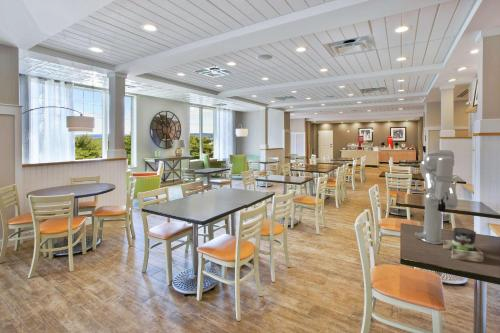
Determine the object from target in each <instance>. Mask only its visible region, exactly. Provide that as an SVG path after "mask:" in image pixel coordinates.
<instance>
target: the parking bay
mask: <svg viewBox="0 0 500 333" xmlns="http://www.w3.org/2000/svg"><path fill="white" fill-rule="evenodd" d="M452 241H453V240H447V239H443V243H442V244H443V245H442V248H443V249H446V250H451V251H452V252H451V259H455V260H462V261H467V262H468V261H469V262H470V261H471V262H476V263H477V262H478V263H484V256H485V255H484V254H485V253H484V252H482V250H480V249H479V248H478V247H477V246H476V245H475V244H474V252H472V251H464V250H456V249H452Z"/></svg>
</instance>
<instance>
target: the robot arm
mask: <svg viewBox="0 0 500 333" xmlns="http://www.w3.org/2000/svg"><path fill="white" fill-rule="evenodd" d="M454 166H455V153H454V152H453V151H452V150H448V149H433V150H430V151H429V152H428V154H425V156H424V159H423V160H422V161H420V163H419V171H420V174H421V176H422V177H423V179H424V184H425V185H424V187H425V192H426V194H425V195H424V198H423V200H424V220H423V221H424V222H423V231H421V232H414V236H416V237H419V238H420V240H421V241H422V242H425V243H428V244H432V245H442V244H443V243H444V239H442V227H443V214H442V212H446V210H455V209H457V207H458V204H459V203H458V202H459V201H458V197H457V196H458V195H457V191H456V187H455V184H453V183H452V182H453V173H454Z"/></svg>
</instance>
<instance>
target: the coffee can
mask: <svg viewBox="0 0 500 333" xmlns="http://www.w3.org/2000/svg"><path fill="white" fill-rule="evenodd" d="M452 230H453V232H452V233H453V234H452V240H451V241H452V249H456V250H464V251H472V252H474V245H475V243H476V234H477V232H476V231H474V230H472V229H469V228H464V227H453V229H452ZM452 249H451V253H452Z"/></svg>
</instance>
